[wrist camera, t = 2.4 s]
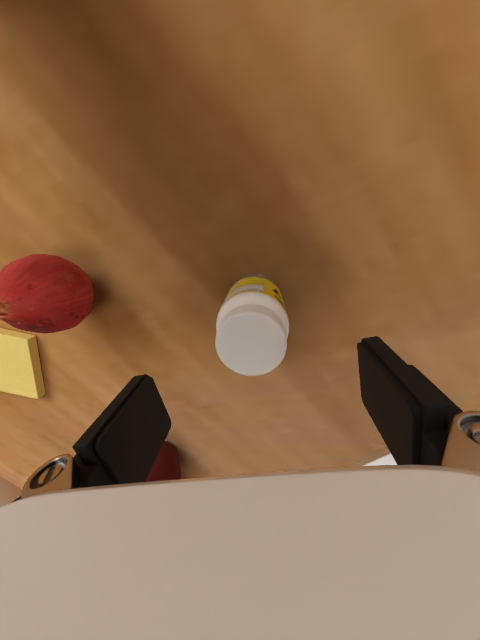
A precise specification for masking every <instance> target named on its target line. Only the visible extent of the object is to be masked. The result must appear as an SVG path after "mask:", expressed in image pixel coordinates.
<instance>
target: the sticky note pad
mask: <svg viewBox="0 0 480 640" xmlns="http://www.w3.org/2000/svg"><path fill="white" fill-rule="evenodd" d="M0 391H2V392H7V393H12V394H16V395H21V396H26V397H30V398H35V399H39V398H40V397H42V396H43V395H44V394H45V388H44V382H43V376H42V370H41V364H40V358H39V352H38V346H37V340H36V336H35V335H31V334H26V333H22V332H17V331H13V330H8V329H3V328H0Z"/></svg>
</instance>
